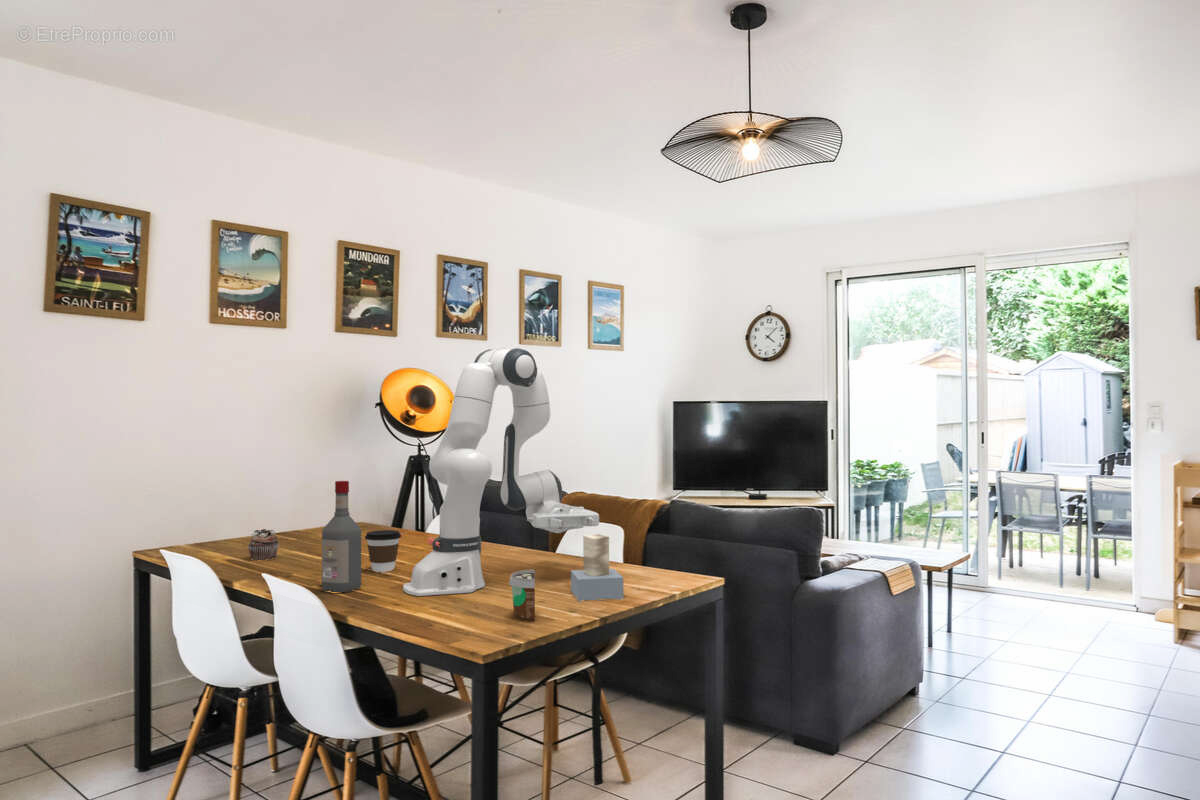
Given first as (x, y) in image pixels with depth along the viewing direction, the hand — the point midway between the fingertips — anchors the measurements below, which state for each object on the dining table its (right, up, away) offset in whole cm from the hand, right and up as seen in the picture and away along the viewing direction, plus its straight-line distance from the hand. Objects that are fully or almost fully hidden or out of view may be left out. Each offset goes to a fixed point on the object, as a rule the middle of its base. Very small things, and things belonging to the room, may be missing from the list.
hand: (576, 522), depth 221 cm
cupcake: (-108, -19, +42) cm, 117 cm away
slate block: (+6, -18, -13) cm, 23 cm away
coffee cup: (-61, -18, +21) cm, 67 cm away
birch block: (+6, -12, -13) cm, 18 cm away
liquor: (-65, -18, -5) cm, 68 cm away
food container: (-12, -17, -35) cm, 41 cm away
